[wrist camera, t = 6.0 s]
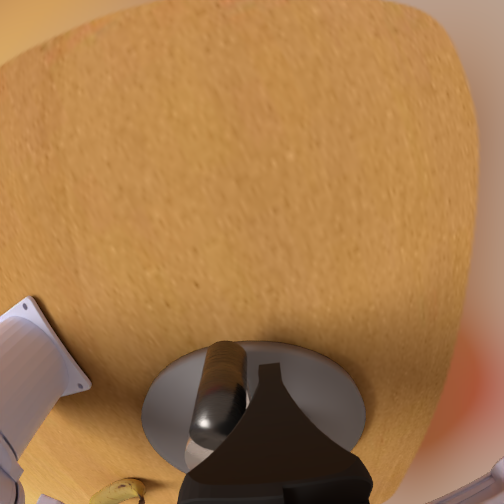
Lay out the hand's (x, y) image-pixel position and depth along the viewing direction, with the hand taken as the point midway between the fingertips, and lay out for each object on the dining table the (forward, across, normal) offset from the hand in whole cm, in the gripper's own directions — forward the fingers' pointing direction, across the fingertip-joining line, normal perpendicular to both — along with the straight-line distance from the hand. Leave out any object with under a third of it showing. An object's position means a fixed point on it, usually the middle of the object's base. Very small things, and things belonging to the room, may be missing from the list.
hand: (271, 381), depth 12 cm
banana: (+5, +18, +19) cm, 27 cm away
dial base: (+5, +2, +9) cm, 10 cm away
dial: (+3, +2, +6) cm, 7 cm away
